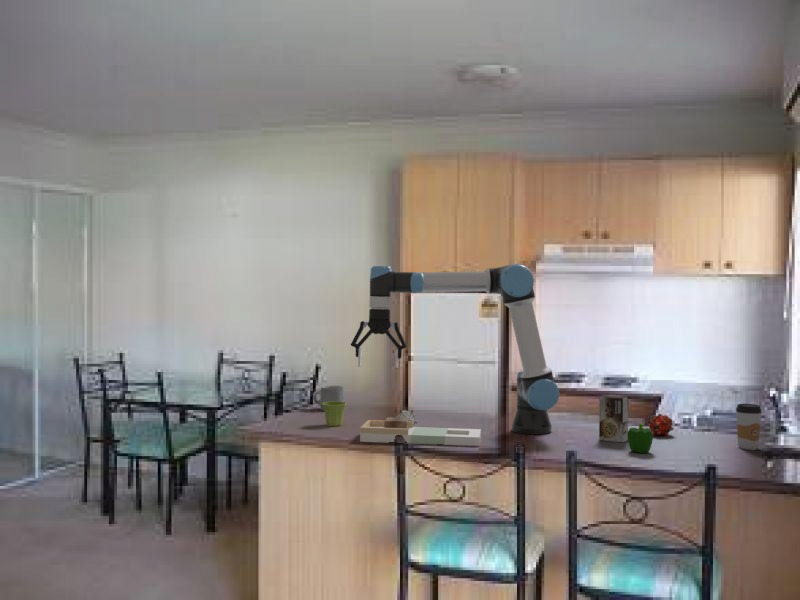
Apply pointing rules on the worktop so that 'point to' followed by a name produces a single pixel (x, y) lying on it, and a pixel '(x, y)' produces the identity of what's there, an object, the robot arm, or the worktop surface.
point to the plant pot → (334, 413)
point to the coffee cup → (748, 425)
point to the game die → (407, 415)
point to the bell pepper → (640, 439)
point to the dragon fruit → (660, 425)
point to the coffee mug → (329, 395)
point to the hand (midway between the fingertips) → (378, 366)
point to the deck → (419, 434)
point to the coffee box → (613, 418)
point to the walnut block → (396, 422)
